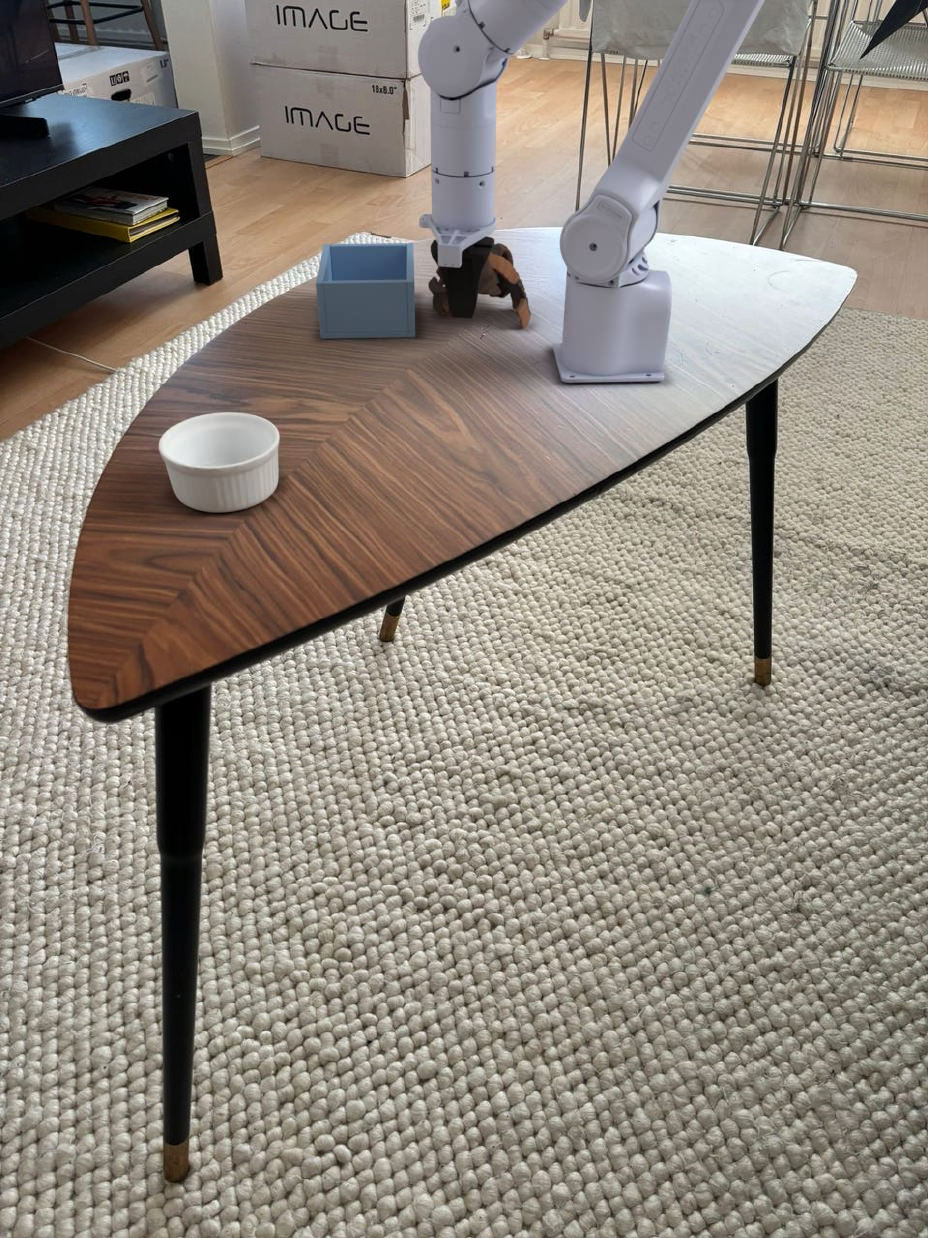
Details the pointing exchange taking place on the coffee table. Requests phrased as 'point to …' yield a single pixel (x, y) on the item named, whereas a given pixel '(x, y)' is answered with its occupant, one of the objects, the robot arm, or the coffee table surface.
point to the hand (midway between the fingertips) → (462, 316)
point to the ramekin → (222, 460)
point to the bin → (366, 291)
